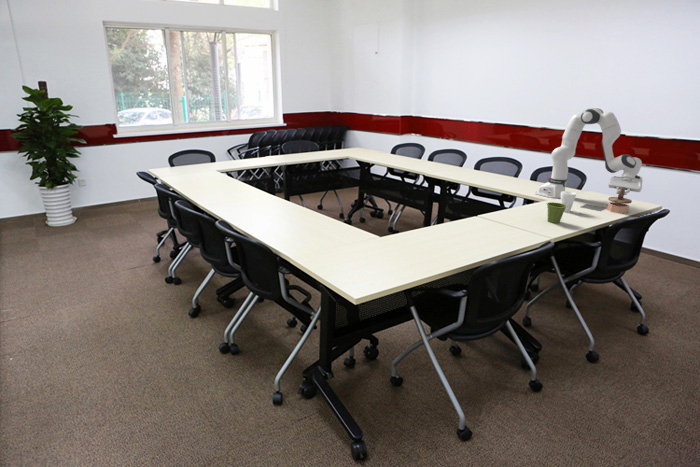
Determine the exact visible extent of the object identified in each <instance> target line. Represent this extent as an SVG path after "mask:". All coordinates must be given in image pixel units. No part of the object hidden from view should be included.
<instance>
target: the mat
mask: <svg viewBox="0 0 700 467" xmlns="http://www.w3.org/2000/svg"><path fill="white" fill-rule="evenodd" d="M580 208H582V209H587V210H592V211H596V212H602V211H605V210H607V207H605V206H599V205H594V204H588V203H586V204H583V205H580Z"/></svg>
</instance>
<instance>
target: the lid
mask: <svg viewBox="0 0 700 467" xmlns="http://www.w3.org/2000/svg"><path fill="white" fill-rule="evenodd" d="M618 191H619V194H618V196H610V197H609V196H608V201H610V202H616V203H623V204H627V205H629V204H632V202H633V201H632V199H629V198H626V197H625V195H624V192H626V190H625V188H620V189H619V190H618Z"/></svg>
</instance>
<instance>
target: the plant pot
mask: <svg viewBox="0 0 700 467" xmlns="http://www.w3.org/2000/svg"><path fill="white" fill-rule="evenodd" d="M546 205H547V206H546V208H547V222H548V223H549V222H550V223H552V224H559V223H560V222H561V219H562V217H563V214H564V213H565V212H564V211H565V209H566V207H567V205H564V204H561V203H559V202H554V201H553V202H547V203H546Z"/></svg>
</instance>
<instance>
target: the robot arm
mask: <svg viewBox="0 0 700 467" xmlns="http://www.w3.org/2000/svg"><path fill="white" fill-rule="evenodd" d="M594 124H598V125H599V127H600V129H601V133H602V140H601V147H602V151H603V152H602V153H603V156H604V165H605V166H604V167H605V170H606V171H607V172H609V173H611V174H615V173H617V172H619V171H623V172H622V174H621V176H616V175H615V176H614V175H613V176H611V177H610V179H609V182H608V184H607V185H608V186H607V187H608V188H610V189H614V190H616V194H618V195H619V190H620V188H625V192H624V196H627V194H628V193H630V192H635V193H640V192H642V189H643V188H642V187H643V181H644V180H643V177H642V176H641V175H638V174H639V173H640V171H641V168H642V163H643V162H642V160H641V159H640V158H638V157H635V156H634V157H633V156H631V155H630V154H627V153H625V154H621V155H619V156H617V157H615V156H614V152H613V144H614V143H615V141H616V140H617V139H618V138H619V137H620V136H621V133H622V127H621V126H620V123H619V121H618V119H617V117H616V116H615V114H614V112H612V111H606V112H604V111H603V110H602V109H601V108H595V107H594V108H593V107H592V108H588V109H585V110H583V112H582V113H574V114H573V115H572V116H571V118H570V120H569V121H568V123H567V125H566V127H565V130H564V133H563V134H562V137H561V139H562V140H561V145H560V146H558V147H556V148H554V150H552V152H551V154H550V155H551V159H552V172H551V176H550V177H549V178H548V179H547V182H545V183H543V184H541V185H540V186H539V188H538V189H537V190H536V191H535V192H534V194H535V195H539V196H543V197H546V198H551V199H561V192H562V191H566V187H567V183H568V174H569V167H568V166H569V165H568V161H569V160H571V159H572V158H573V157H574V156H575V155H576V148H577V144H578V140H579V139H580V137H581V134H582V132H583V130H584V128H585V126H587V125H594Z"/></svg>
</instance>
